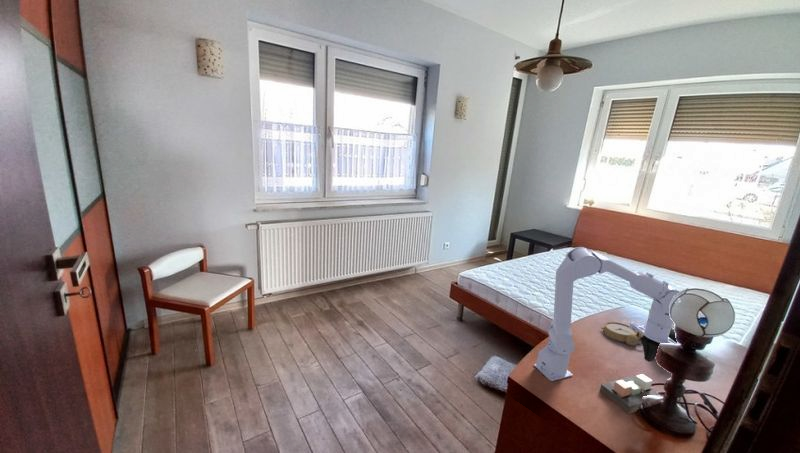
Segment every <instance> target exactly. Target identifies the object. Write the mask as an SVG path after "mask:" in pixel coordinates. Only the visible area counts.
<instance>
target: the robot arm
mask: <svg viewBox="0 0 800 453" xmlns="http://www.w3.org/2000/svg"><path fill="white" fill-rule="evenodd" d="M606 272H607V273H610V274H612V275H613V276H616V277H618V278H620V279H622V280H625V281H627V282H629V285H630V287H631V288H632V289H633V290H635V291H638V292H639V293H641V294H643V295H645V296H647V297H648V298H651V299H652V303H651V305H650V308H649V310H650V313H649V312H648V315H649V316H648V315H647V316H648V317H647V320H646V323H645V325H643V324H641V323H638V322H636V321H632V322H629V325H628V326H629V328H631V329H635V330H636V331H638V332H640V333H642V334H643V335H644V336H643V337H641V338H640V340H641V341H640V342H642V344H641V345H642V348H643V355H644V356H643V357H644V358H643V359H644V361H646V362H648V363H650V362H653V361H654V360H655V357H656V353H657V349H658V346H659V344H660V343H674V344H677V343H676V342H674V341H673V340H672V339H670V338H669V333H670V330H671V327H672V324H673V321H672V320H671V319H670V316H669V305H670V302H671V300H672V298H673V296H674V295H676V294H677V293H679V292H681V291H680V290H678V289H677V288H675V287H674V286H672V285H671V284H670V283H668V281H665V280H662V281H661V280H659V279H657V278H655V277H654V275H653V274H652V273H650V272H649V271H647V272H643V271H637V272H634V271H632V270H631V269H629V268H627V267H625V266H623V265H621V264H620V263H618V262H616V261H614V260H613V259H611V258H609V257H607V256H604V255H603V254H601V253H598V252H596V251H594V250H589V249H588V248H587V247H584V246H577V247H574V248H573V249H571V250H569V251H568V252H566V254H565V257H564V259H563V260H562V261H561V264H560V265H559V267H558V268H557V269H556V270H555V282H554V283H555V285H554V286H555V287H554V301H553V302H554V304H553V306H554V307H553V319H552V320H551V323H550V326H549V327H548V330H547V333H548V336H549V340H548V341H547V345H546V346H545V347H543V348H542V349H540V350H539V351H538V354H537V359H536V362H535V363H534V364H533V366H534V367H535V368H537V370H539V372H540V373H541V374H542V375H544V376H545V377H546V378H547V379H548V380H549V381H551V382H553V381H557V380H561V379H565V378H570V377H573V375H574V374H573V373H572V372H571V371H569V370H568V367H569V362H570V357H571V355H572V354H573V353H574V351H575V350H576V345H575V343H574V341H573V332H572V328H571V326H572V324H571V323H572V309H573V296H574V293H573V292H574V282H575V281H577V280H579V279H584V278H587V277H591V276H593V275H595V274H597V273H598V274H600V275H602V274H603V273H606Z"/></svg>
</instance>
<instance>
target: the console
mask: <svg viewBox="0 0 800 453" xmlns="http://www.w3.org/2000/svg"><path fill="white" fill-rule="evenodd" d="M635 377H636V376H634V375H629V376H627V377H622V378H619V379H615V380H612V381H608V382H604V383H601V385H600V389H599V392H601V393H602V394H603V395H604V396H605V397H607V398H608V399H609V400H610V401H611V402H613V403H614V404H615V405H616V406H617V407H619V408H620V409H621V410H623V412H625V413H626V414H627V415H629V414H633V413H635V412H638V411H637V410H638V409H639V407H640V406H641V405H642V403H643V401H642V397H643V396H647V395H661V394H660V393H659V392H657V391H656V390H654V389H653V388H652V387H651V388H650V389H647V390H644V391H643V392H642V389H641V390H640V394H637V395H634V396H633V395H632V394H630V395H627V396H624V397H622V396H621V395H619V394H618V393H617V392H616V391H614V390H613V388H614V384H615V381H618V380H624V381H625V382H629V381H633V382H634V381H635Z"/></svg>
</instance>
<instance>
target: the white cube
mask: <svg viewBox="0 0 800 453" xmlns="http://www.w3.org/2000/svg"><path fill="white" fill-rule="evenodd" d="M634 377H635V381H634V383H635V384H637V385H638V386H640V387H641V389H642V390H643V391H644V390H647V389H650V388H651V389H652V384H653V380H652V378H650V377H648V376H646V375H645V374H643V373H640V374H637V375H635V376H634Z"/></svg>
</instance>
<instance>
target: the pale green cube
mask: <svg viewBox="0 0 800 453" xmlns="http://www.w3.org/2000/svg"><path fill="white" fill-rule="evenodd" d="M626 383H628V384H629V385H631V386H632V388H631V392H630V394H632V395H633V396H634V395H637V394H640V390H641V387H640V386H638V385H637V384H635V383H634V382H633V381H629V382H626Z"/></svg>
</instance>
